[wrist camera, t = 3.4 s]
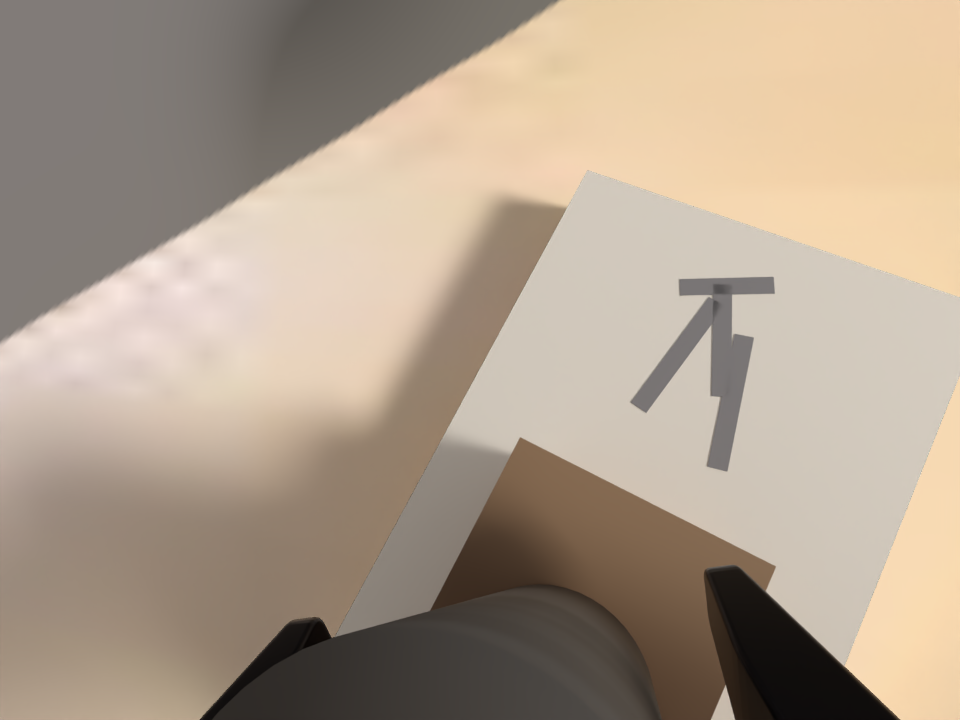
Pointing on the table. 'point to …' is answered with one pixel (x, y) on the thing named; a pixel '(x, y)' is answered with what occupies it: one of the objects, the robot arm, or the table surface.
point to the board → (700, 402)
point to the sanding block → (533, 619)
